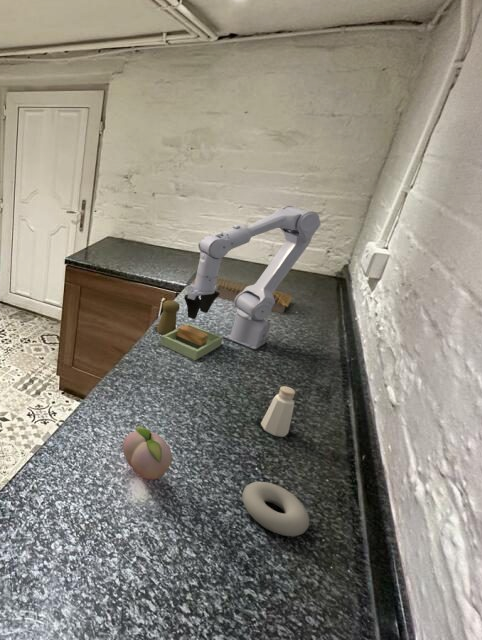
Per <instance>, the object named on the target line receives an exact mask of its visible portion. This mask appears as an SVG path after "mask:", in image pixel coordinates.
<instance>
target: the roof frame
mask: <svg viewBox="0 0 482 640" xmlns="http://www.w3.org/2000/svg"><path fill="white" fill-rule="evenodd" d="M190 283H191V284H195V279H194V280H193V281H191V282H190ZM216 284H218V288H217V290H215V291H216V292H219V293H220V294H219V296H218V297H217V298H222V299H224V300H225V299H226V300H229V301H233V302H234V300H235V298H236V296H237V295H238V294H239V293H241V292H242V291H243V290H244V289H245V288H246V287H247V286H251V285H252V284H247V283H242V282H239V281H235V280H229V279H226V278H221V277H217V280H216ZM273 296H274V299H275V304H274V305H273V307H272V310H271V312H276V313H280V314H284V312H285V310H286V308H289V305H290V302H291V301H292V299H293V297H294V295H292V294H288V293H285V292H281V291H277V290H275V291H274V292H273ZM256 297H258V298H260V297H259V296H256Z"/></svg>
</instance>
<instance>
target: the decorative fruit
mask: <svg viewBox="0 0 482 640" xmlns="http://www.w3.org/2000/svg"><path fill="white" fill-rule="evenodd" d="M122 451H123V454H124V458H125V460H126V462H127V463H128V465H129V466H130V467H131V468H132V470H133V472H134V473H135V474H136V475H138V476H140V477H141V478H143V479H146V480H157V479H160V478H161V477H163V476H164V475H165V474H166V473H167V472H168V470H169V469H170V468H171V464H172V463H173V462H172V461H173V455H172V451H171V448H170V446H169V445H168V443H167V442H166V441H165V440H164V439H163V437H161V436H160V435H159V434H157V433H155V432H153V431H150V430H149V429H148V428H146V427H144V426H135V430H134V431H132V432H130V433H128V434H127V435H126V436H125V438H124V439H123V442H122Z"/></svg>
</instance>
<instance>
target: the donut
mask: <svg viewBox="0 0 482 640" xmlns="http://www.w3.org/2000/svg"><path fill="white" fill-rule="evenodd" d="M241 497H242V503H243V506H244V508H245V509H246V511H247V513H248V514H249V516H251V518H253V520H254V521H255V522H256V523H258V524H259V525H261V526H262V527H263V528H265V529H266V530H269V531H270V532H272V533H275V534H278V535H281V536H284V537H296V536H300V535H303V534H304V533H305V532H306V531H307V530H308V529H309V527H310V516H309V512H308V511H307V509H306V507H305V506H304V505H303V502H301V500H300V499H298V498H297V496H295V495H294V494H293V493H292V492H290V491H289V490H287V489H286V488H284V487H282V486H279V485H278V484H274V483H271V482H267V481H253V482H251V483H249V484H247V485H246V486H245V487H244V489H243V492H242V495H241ZM266 503H270V504H273V505H275V506H277V507H278V508H280V509H281V510H282V511H283V512H278V511H276V510H274V509H273V508H271V507H270V506H269V505H267V504H266Z"/></svg>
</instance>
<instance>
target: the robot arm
mask: <svg viewBox="0 0 482 640" xmlns="http://www.w3.org/2000/svg"><path fill="white" fill-rule="evenodd" d="M320 226H321V220H320V215H319V214H318V213H317V212H316V211H313V210H306V209H302V208H298V207H294V206H292V205H286V206H283V207H281V208H278V209H276V210H275V211H274V212H273V213H272V214H269V215H267V216H265V217H263V218H261V219H259V220H257V221H255V222H252V223H250V224H249V225H243V224H235V225H232V227H231V228H229V229H226V230H224V231H219V232H217V234H215V235H214V234H209V235H206V236H204V238H201V241H200V242H198V246H197V247H198V250H199V252H200V254H199V261H198V266H197V270H196V275H195V279H194V280H195V284H194V283H191V284H190V285H189V287H190V288H191V289H190V291H188V293H187V294H184V297H183V299H184V301H185V304H186V310H187V318H188V319H189V318H190V319H192V320H195V319H196V318H197V316H198V314H199V312H201V313H204V314H208V312H209V311H210V309H211V307H212V305H213V303H214V302H215V301H216V300H217V298H219V297H218V296H219V294H220V293H219V292H216V291H215V290H217V289H219V287H218V284H216V280H217V278H218V275H219V272H220V267H221V264H222V259H223V258H224V257H225V256H227V254H228V253H229V251H232V250H233V249H236V248H238V247H241V246H243V245H246V244H248V243H249V242H250V241H251V240H252V238H253V237H255V236H259V235H261V234H265V233H267V232H269V231H274V230H276V229H280V230H281V232H282V233H283V235H284V238H285V242H284V243H283V244H282V246H281V247H280V249H279V250H278V251H277V252H276V254H275V255H274V257H273V258H272V260H271V261H270V263H269V264H268V266H266V268H265V270H264V271H263V272H262V274H261V275H260V277H259V278H258V279H257V280H256V282H255V283H254V284H250V285H251V286H247V287H246V288H245V289H244V290H243V291H242V292H241V293H240V292H238V293H239V294H238V295H237V296H236V298H235V300H234V301H233V303H234V307H236V310H235V311H236V314H235V316H234V317H235V318H234V321H233V325H232V329H231V332H230V333H228V334H227V335H225V336H224V338H225V339H227V340H229V341H232V342H234V343H236V344H240V345H242V346H244V347H247V348H250V349H252V350H257V349H258V348H260V347H261V346H263V345H265V344H266V340H267V337H268V333H269V330H270V327H271V322H270V321H267V320H265V319H266V318H268V317H269V316H270V314H271V313H272V307H273V305H274V304H275V303H276V301H275V299H274V296H273V292H274V293H275V291H277V290H276V289H278V287H279V286H280V285H281V283H282V282H283V280H284V279H285V277H286V276H287V275H288V273H289V272H290V271H291V270H292V268H293V267H294V266H295V264H297V263H296V262H297V261H298V260H299V258H300V257H301V256H302V255H303V254H304V252H305V250H306V249H307V248H308V246H309V245H310V244H311V241H312V239H313V236H314V235H315V233H316V232H317V230H318V229H319V228H320ZM256 296H259V297H260V298H258V297H256Z"/></svg>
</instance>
